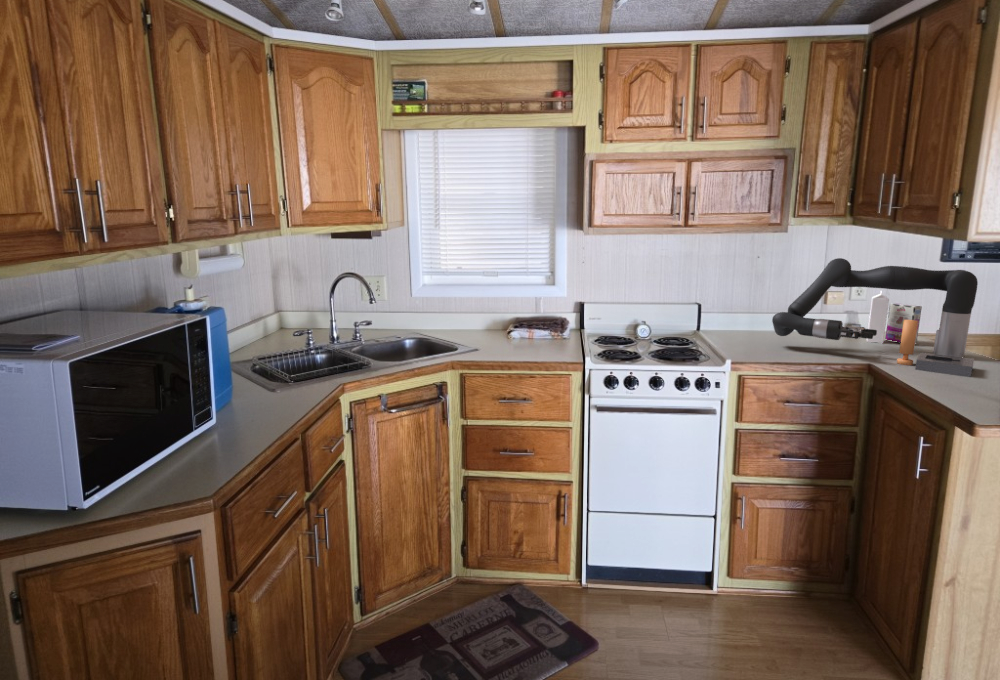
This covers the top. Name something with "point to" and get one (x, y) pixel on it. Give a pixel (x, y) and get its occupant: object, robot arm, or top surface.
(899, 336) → the candy bar box
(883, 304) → the milk
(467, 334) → the top surface
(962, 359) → the keyhole plate
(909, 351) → the post
